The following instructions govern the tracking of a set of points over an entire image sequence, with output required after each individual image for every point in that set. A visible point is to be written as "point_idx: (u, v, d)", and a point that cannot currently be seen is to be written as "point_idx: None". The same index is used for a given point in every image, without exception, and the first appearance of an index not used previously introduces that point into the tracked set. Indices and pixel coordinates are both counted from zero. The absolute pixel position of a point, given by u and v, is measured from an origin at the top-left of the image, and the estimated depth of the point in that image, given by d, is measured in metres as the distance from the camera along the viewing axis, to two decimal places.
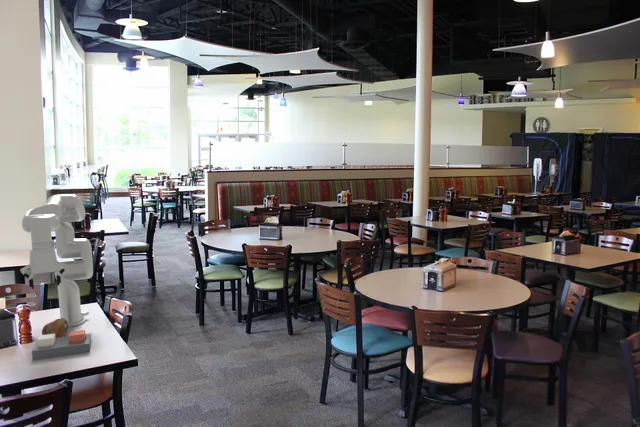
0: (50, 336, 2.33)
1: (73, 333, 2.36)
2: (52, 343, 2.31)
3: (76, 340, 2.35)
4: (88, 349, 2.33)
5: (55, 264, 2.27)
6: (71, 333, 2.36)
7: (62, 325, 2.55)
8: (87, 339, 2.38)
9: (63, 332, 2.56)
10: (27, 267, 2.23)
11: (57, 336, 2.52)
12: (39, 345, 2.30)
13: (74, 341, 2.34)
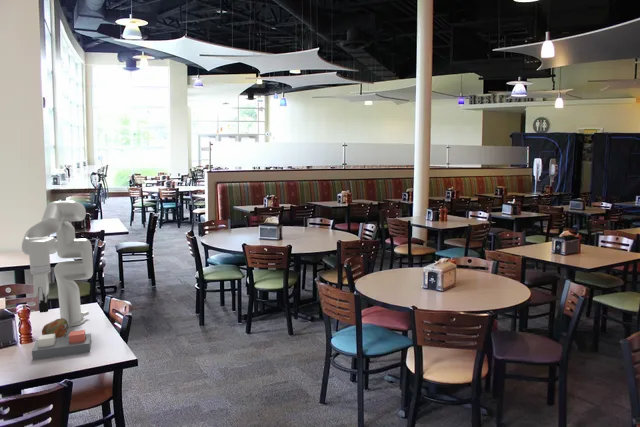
0: (50, 336, 2.33)
1: (73, 333, 2.36)
2: (52, 343, 2.31)
3: (76, 340, 2.35)
4: (88, 349, 2.33)
5: None
6: (71, 333, 2.36)
7: (62, 325, 2.55)
8: (87, 339, 2.38)
9: (63, 332, 2.56)
10: (42, 297, 2.26)
11: (57, 336, 2.52)
12: (39, 345, 2.30)
13: (74, 341, 2.34)
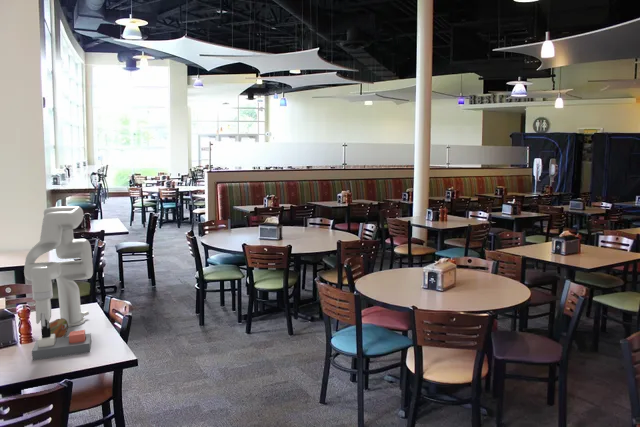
0: (50, 336, 2.33)
1: (73, 333, 2.36)
2: (52, 343, 2.31)
3: (76, 340, 2.35)
4: (88, 349, 2.33)
5: None
6: (71, 333, 2.36)
7: (62, 325, 2.55)
8: (87, 339, 2.38)
9: (63, 332, 2.56)
10: (45, 323, 2.28)
11: (57, 336, 2.52)
12: (39, 345, 2.30)
13: (74, 341, 2.34)
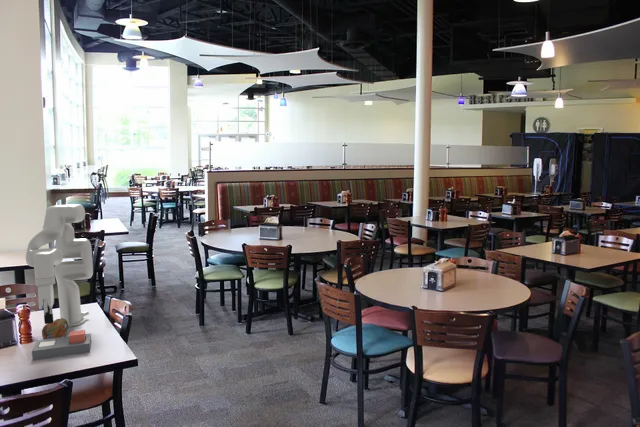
0: (51, 343, 2.34)
1: (73, 333, 2.36)
2: None
3: (76, 340, 2.35)
4: (88, 349, 2.33)
5: None
6: (71, 333, 2.36)
7: (62, 325, 2.55)
8: (87, 339, 2.38)
9: (63, 332, 2.56)
10: (47, 309, 2.28)
11: (57, 336, 2.52)
12: None
13: (74, 341, 2.34)
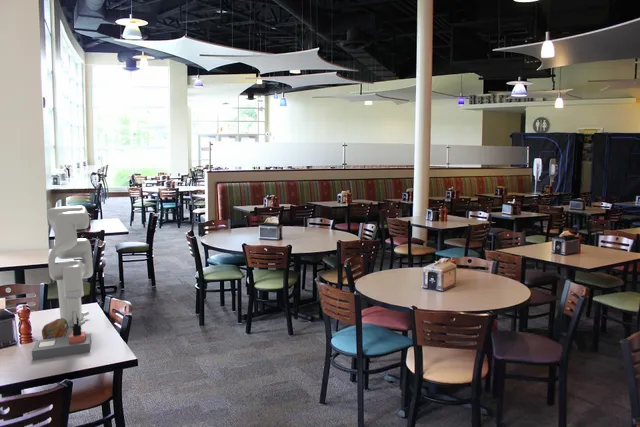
0: (51, 343, 2.34)
1: None
2: None
3: None
4: (88, 349, 2.33)
5: None
6: (71, 335, 2.36)
7: (62, 325, 2.55)
8: (87, 339, 2.38)
9: (63, 332, 2.56)
10: (76, 321, 2.32)
11: (57, 336, 2.52)
12: None
13: None
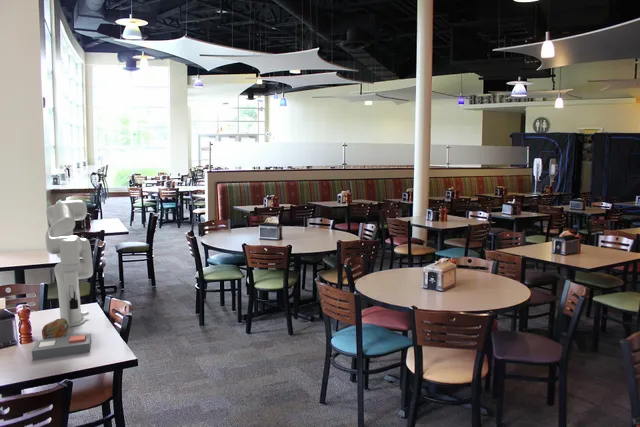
0: (51, 343, 2.34)
1: (73, 338, 2.36)
2: None
3: None
4: (88, 349, 2.33)
5: None
6: (71, 338, 2.37)
7: (62, 325, 2.55)
8: (87, 339, 2.38)
9: (63, 332, 2.56)
10: (73, 295, 2.32)
11: (57, 336, 2.52)
12: None
13: None
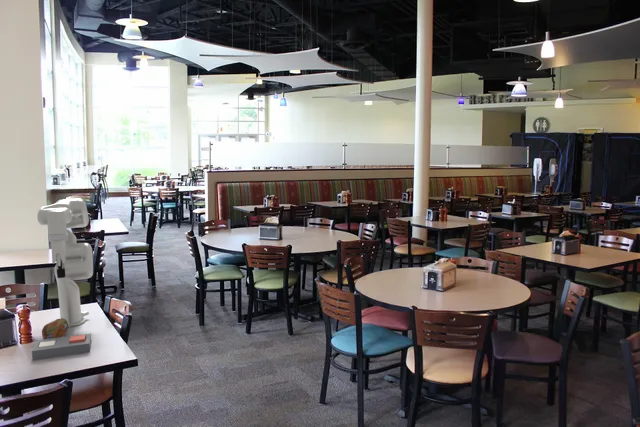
0: (51, 343, 2.34)
1: (73, 338, 2.36)
2: None
3: None
4: (88, 349, 2.33)
5: None
6: (71, 338, 2.37)
7: (62, 325, 2.55)
8: (87, 339, 2.38)
9: (63, 332, 2.56)
10: (60, 263, 2.42)
11: (57, 336, 2.52)
12: None
13: None
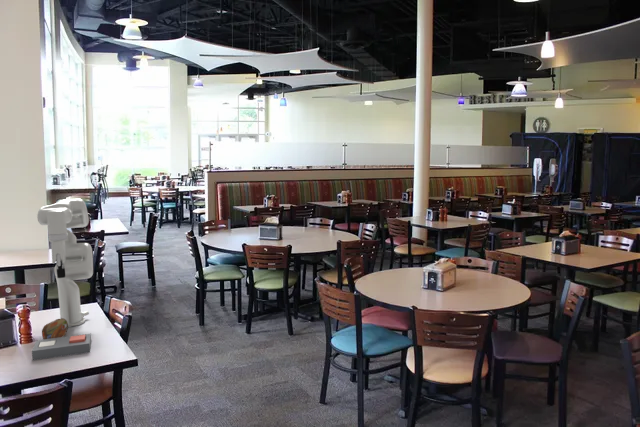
0: (51, 343, 2.34)
1: (73, 338, 2.36)
2: None
3: None
4: (88, 349, 2.33)
5: None
6: (71, 338, 2.37)
7: (62, 325, 2.55)
8: (87, 339, 2.38)
9: (63, 332, 2.56)
10: (60, 263, 2.42)
11: (57, 336, 2.52)
12: None
13: None
